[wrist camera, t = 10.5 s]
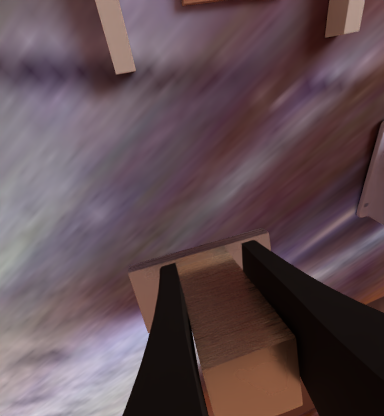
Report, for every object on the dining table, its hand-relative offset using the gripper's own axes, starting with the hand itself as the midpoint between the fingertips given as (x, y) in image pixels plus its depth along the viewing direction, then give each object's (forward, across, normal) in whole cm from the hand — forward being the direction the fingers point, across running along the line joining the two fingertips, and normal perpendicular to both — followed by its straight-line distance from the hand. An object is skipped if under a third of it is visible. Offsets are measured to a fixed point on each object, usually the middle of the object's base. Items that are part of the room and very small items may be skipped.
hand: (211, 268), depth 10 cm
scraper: (+2, 0, +3) cm, 4 cm away
